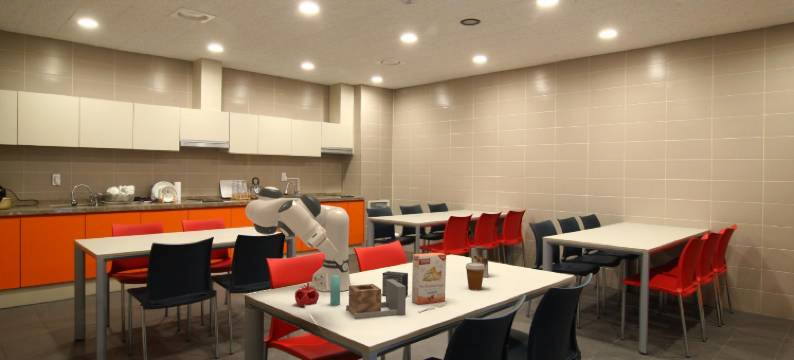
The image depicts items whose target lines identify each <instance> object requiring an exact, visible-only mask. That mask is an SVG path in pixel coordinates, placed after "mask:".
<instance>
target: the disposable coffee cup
mask: <svg viewBox="0 0 794 360" xmlns="http://www.w3.org/2000/svg"><path fill="white" fill-rule="evenodd" d="M465 269H466V280H467V286H468V287H467V289H468V290H469V291H470V290H471V291H481V290H482V288H483V280H484V277H483V274H484V269H485V267H484V264H481V263H471V262H467V263H466V264H465Z"/></svg>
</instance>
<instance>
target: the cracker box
mask: <svg viewBox="0 0 794 360" xmlns="http://www.w3.org/2000/svg"><path fill="white" fill-rule="evenodd" d="M446 272H447V254H445V253H442V252H429V253H427V252H426V253H414V254H412V273H411V274H412V275H411V276H412V280H411V281H412V282H411V285H412V287H411V302H412V303H414V304H417V305H425V304H426V305H427V304H434V303H441V302H442V301H443V302H446V276H447V275H446V274H447V273H446ZM443 302H442V303H443Z"/></svg>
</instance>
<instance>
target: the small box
mask: <svg viewBox="0 0 794 360" xmlns="http://www.w3.org/2000/svg"><path fill="white" fill-rule="evenodd" d="M388 279H393V280H395V281H397V282H399V283H401V284H402V285H404V286H406V297H408V295H409V273H408V272H401V271H399V272H398V271H391V270H390V271H388V270H387V271H385V272H382V286H381V287H382V288H381V297H386V280H388Z"/></svg>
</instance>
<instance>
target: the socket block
mask: <svg viewBox="0 0 794 360" xmlns="http://www.w3.org/2000/svg"><path fill="white" fill-rule="evenodd" d="M381 302H382V288H380V287H379V286H377V285H375V284H374V283H368V284H355V285H354V284H353V285H352V284H351V286H349V290H348V305H349V311H348V312H349V313H350V314H351V315H352V316H354V318H355V313H364V312H374V311H382V308H381Z"/></svg>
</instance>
